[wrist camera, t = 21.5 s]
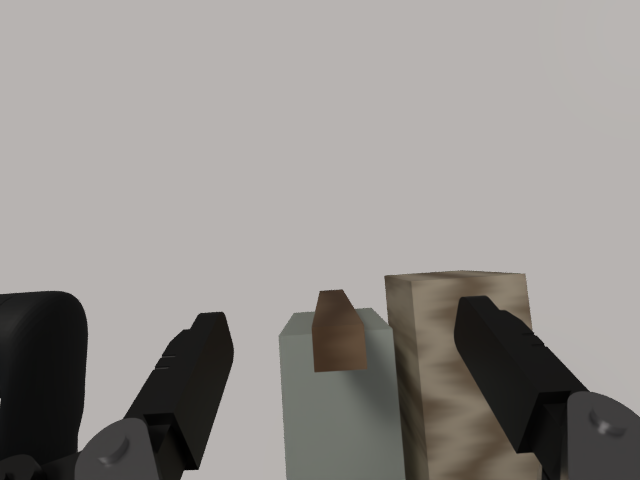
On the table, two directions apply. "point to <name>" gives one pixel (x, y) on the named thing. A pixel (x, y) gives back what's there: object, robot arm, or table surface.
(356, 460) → the low stand
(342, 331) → the bar
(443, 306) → the tall stand
